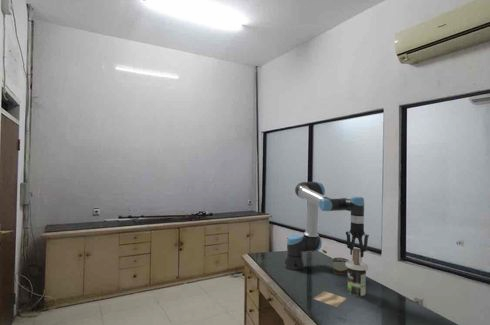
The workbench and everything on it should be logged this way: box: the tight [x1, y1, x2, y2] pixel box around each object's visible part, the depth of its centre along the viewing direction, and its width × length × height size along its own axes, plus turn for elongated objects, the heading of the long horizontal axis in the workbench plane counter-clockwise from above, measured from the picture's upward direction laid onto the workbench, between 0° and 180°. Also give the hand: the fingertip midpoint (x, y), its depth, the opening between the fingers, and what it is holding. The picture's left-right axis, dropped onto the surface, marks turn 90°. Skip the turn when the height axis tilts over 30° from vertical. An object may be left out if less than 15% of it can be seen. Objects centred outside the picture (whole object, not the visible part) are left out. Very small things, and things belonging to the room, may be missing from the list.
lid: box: [345, 247, 370, 271], centre depth 170 cm, size 13×13×10 cm
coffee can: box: [347, 268, 367, 297], centre depth 169 cm, size 10×10×14 cm
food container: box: [331, 257, 350, 275], centre depth 204 cm, size 12×6×10 cm, turn 84°
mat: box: [312, 290, 348, 308], centre depth 160 cm, size 14×14×1 cm
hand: (356, 261), depth 170 cm, fingers open, 4 cm apart
